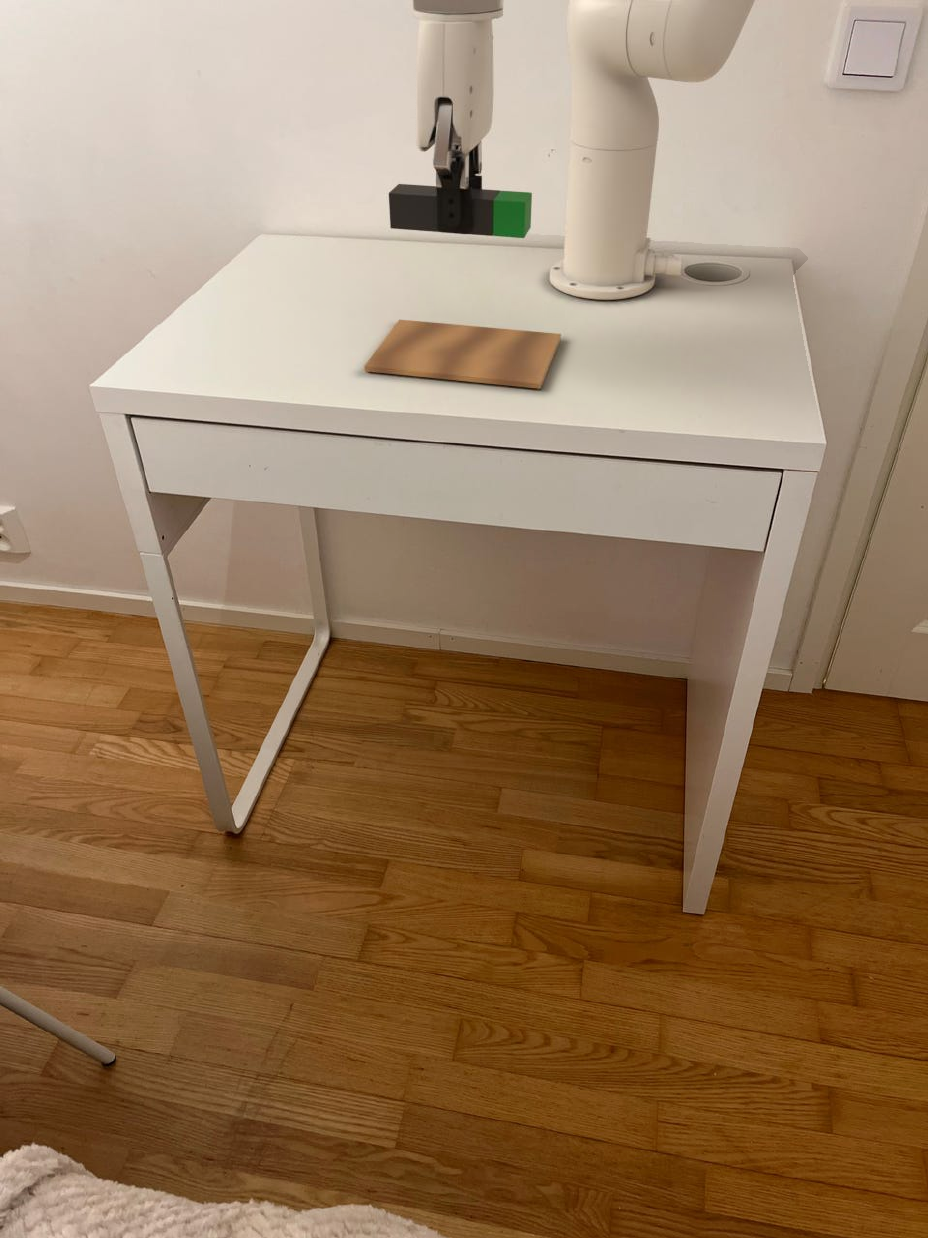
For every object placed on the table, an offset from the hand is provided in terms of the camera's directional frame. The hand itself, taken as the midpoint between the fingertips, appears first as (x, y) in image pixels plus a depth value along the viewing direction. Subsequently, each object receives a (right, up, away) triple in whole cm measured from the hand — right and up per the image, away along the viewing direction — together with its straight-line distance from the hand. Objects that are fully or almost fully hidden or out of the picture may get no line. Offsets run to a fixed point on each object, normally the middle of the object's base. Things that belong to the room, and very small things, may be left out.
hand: (459, 223), depth 89 cm
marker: (0, 0, 0) cm, 0 cm away
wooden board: (+1, -10, +8) cm, 13 cm away
